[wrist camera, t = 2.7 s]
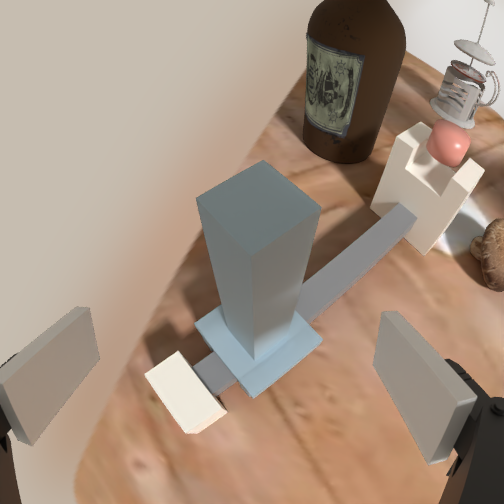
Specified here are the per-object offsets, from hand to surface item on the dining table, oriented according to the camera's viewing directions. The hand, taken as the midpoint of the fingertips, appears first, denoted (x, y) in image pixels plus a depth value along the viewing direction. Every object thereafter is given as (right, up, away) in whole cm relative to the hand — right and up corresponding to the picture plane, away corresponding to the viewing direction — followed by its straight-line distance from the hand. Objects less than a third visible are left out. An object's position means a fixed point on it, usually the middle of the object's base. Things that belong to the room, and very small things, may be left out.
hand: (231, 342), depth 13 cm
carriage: (+1, -3, +11) cm, 11 cm away
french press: (+38, +29, +32) cm, 58 cm away
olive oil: (+12, +18, +26) cm, 34 cm away
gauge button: (+18, +13, +10) cm, 24 cm away
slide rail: (+7, 0, +14) cm, 16 cm away
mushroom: (+28, +2, +16) cm, 32 cm away
